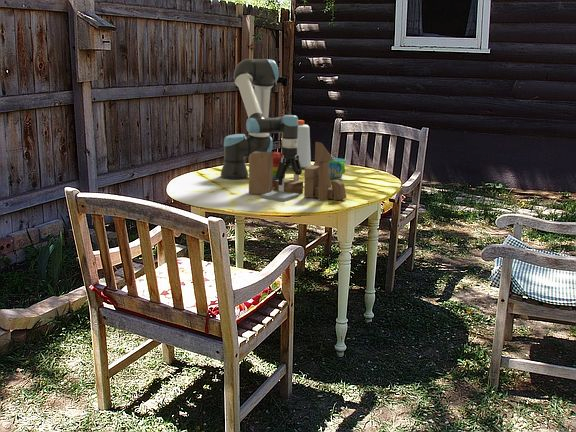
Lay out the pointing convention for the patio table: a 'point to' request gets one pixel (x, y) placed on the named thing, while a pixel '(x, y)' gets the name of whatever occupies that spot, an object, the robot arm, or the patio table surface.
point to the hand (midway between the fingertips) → (288, 189)
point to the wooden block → (260, 172)
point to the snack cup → (337, 167)
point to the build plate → (280, 195)
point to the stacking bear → (276, 165)
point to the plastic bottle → (303, 144)
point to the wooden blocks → (322, 178)
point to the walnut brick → (290, 186)
